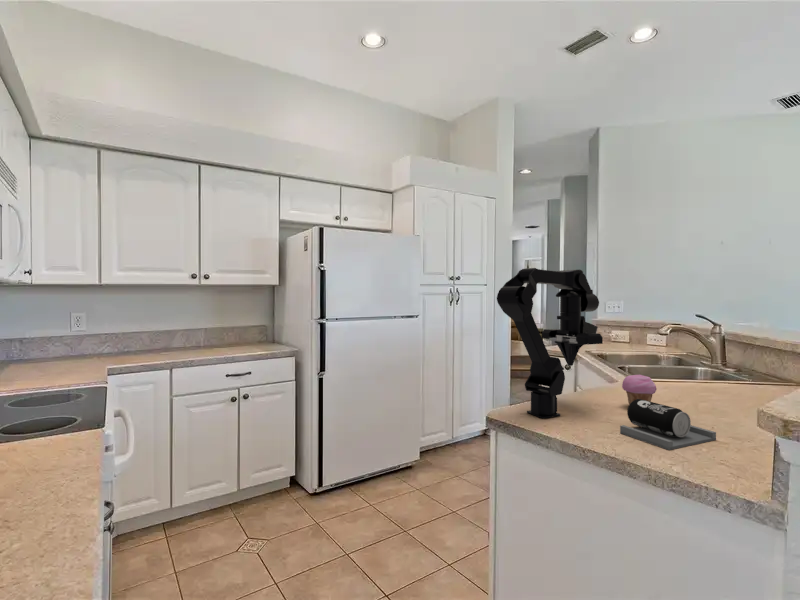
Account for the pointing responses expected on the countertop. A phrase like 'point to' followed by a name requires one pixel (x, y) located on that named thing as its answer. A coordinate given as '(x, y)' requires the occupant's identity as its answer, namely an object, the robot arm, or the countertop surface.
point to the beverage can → (659, 418)
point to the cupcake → (638, 387)
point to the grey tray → (669, 437)
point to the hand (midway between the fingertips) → (570, 365)
